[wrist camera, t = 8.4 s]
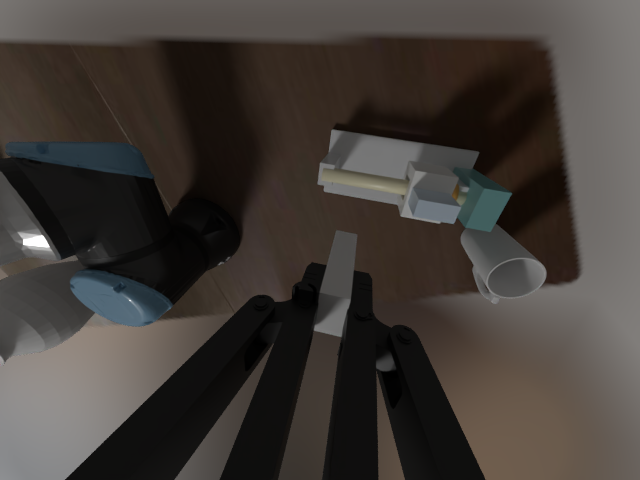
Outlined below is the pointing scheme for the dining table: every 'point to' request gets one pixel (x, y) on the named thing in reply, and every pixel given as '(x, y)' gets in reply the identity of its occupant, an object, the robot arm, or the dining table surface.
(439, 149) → the grey vise fixture
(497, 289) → the mug
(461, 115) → the dining table surface
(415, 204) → the grey stepped block
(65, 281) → the vase
